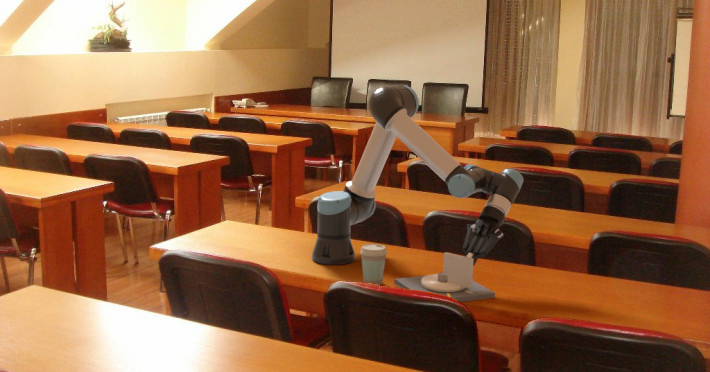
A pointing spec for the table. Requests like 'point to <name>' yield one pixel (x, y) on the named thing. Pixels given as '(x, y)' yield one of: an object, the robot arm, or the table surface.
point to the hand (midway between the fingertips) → (463, 272)
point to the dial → (451, 275)
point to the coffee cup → (373, 263)
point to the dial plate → (464, 295)
